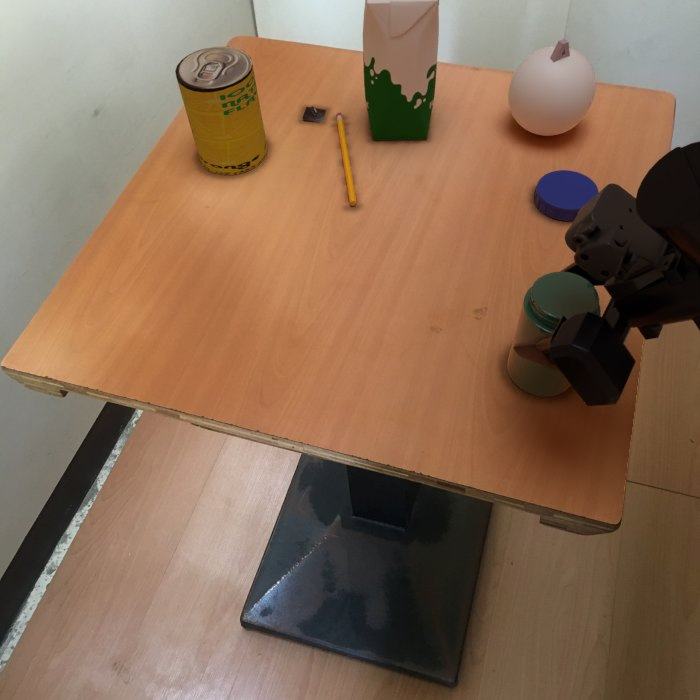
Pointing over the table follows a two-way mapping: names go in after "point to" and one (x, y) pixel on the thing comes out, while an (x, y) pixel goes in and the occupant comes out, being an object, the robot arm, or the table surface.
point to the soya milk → (400, 66)
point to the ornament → (552, 90)
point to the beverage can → (223, 109)
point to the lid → (563, 194)
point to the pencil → (346, 160)
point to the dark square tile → (314, 114)
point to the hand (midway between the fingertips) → (537, 314)
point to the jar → (548, 327)
